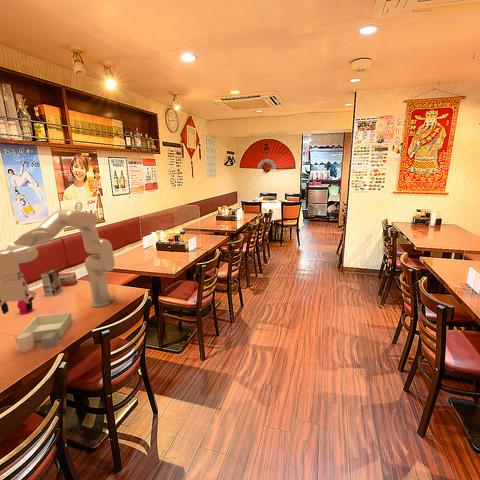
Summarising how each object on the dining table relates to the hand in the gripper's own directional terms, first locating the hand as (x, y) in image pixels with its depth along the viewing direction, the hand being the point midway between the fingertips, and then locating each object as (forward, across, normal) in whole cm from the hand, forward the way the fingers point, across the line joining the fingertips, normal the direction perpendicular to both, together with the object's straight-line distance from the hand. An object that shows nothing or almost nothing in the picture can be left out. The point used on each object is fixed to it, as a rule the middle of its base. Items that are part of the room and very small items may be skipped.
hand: (18, 311), depth 131 cm
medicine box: (+19, +12, -81) cm, 84 cm away
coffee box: (+19, +13, -66) cm, 70 cm away
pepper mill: (+19, +18, -41) cm, 48 cm away
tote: (+19, -5, -13) cm, 23 cm away
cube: (+19, -11, 0) cm, 22 cm away
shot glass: (+19, -1, +1) cm, 19 cm away
